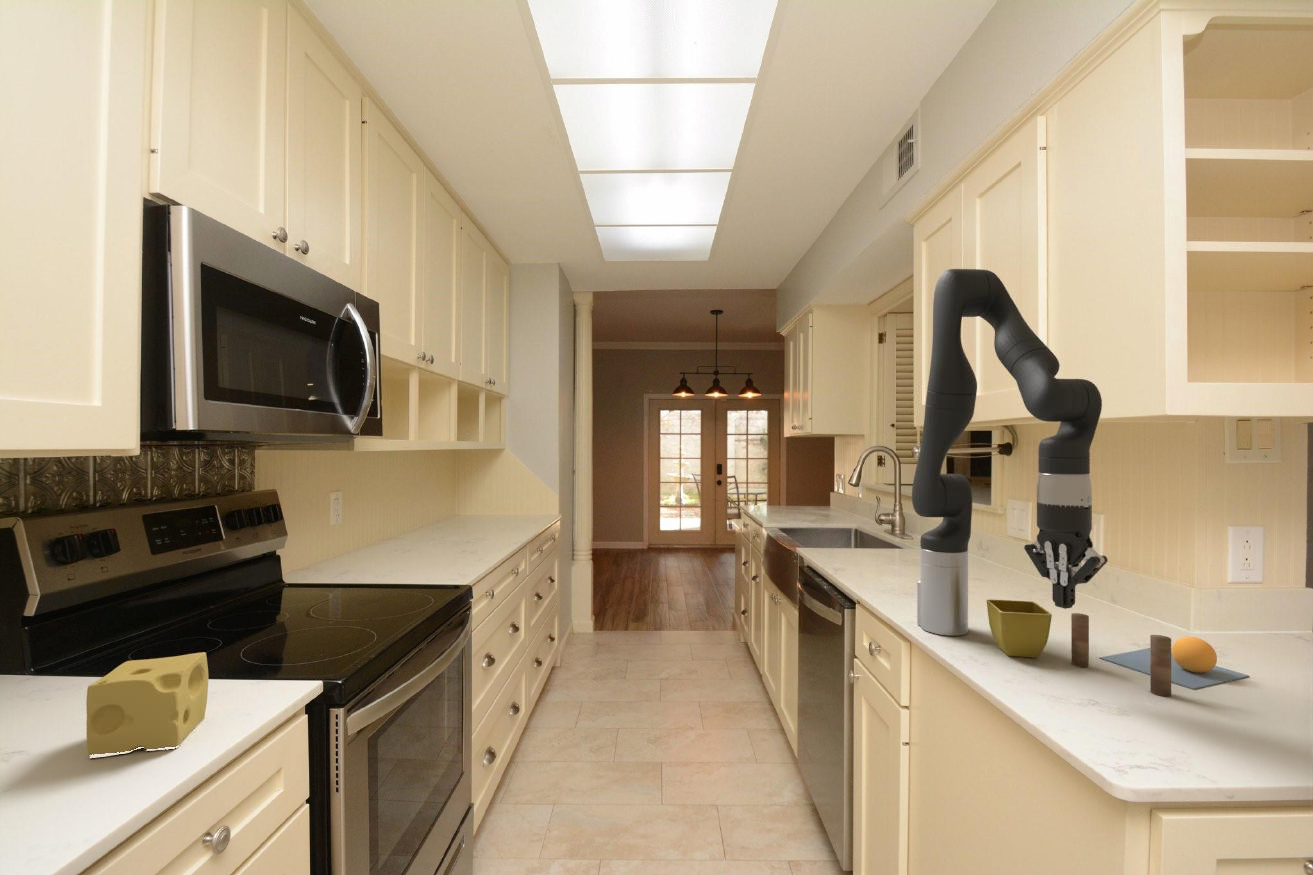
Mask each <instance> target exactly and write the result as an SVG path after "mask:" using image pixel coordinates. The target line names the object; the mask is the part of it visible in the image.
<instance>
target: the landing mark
mask: <svg viewBox="0 0 1313 875" xmlns="http://www.w3.org/2000/svg"><path fill="white" fill-rule="evenodd" d="M1099 659H1100V660H1103V661H1105V662H1109V663H1112V664H1115V665H1118V666H1121V667H1124V668H1127V669H1131V670H1133V671H1136V672H1138V673H1142V674H1145V675H1149V676H1150V647H1149V648H1143V649H1138V650H1137V649H1136V650H1133V651H1132V650H1131V651H1127V652H1121V653H1117V654H1111V655H1106V656H1105V655H1104V656H1101V657H1099ZM1249 677H1250V675H1248V674H1245V673H1243V672H1238V671H1234V670H1231V669H1228V668H1224V667H1222V666H1218V665H1215V666H1214V668H1213V669H1211V670H1210V671H1208V672H1204V673H1194V672H1190V671H1187V670H1185V669H1183V668H1182V667H1180V666H1179V665H1178V664H1177V663H1176V662H1175V660H1174V658H1173V656H1172V652H1171V684H1175V685H1178V686H1181V687H1184V688H1187V689H1191V690H1193V691H1194V690H1197V689H1203V688H1206V687H1210V686H1215V685H1219V684H1220V685H1221V684H1223V683H1224V684H1225V683H1227V682H1231V681H1237V680H1241V679H1244V678H1245V679H1246V678H1249Z"/></svg>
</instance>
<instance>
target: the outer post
mask: <svg viewBox="0 0 1313 875" xmlns="http://www.w3.org/2000/svg"><path fill="white" fill-rule="evenodd" d="M1149 638H1150V639H1149V642H1150V644H1149V645H1150V646H1149V648H1150V675H1149V676H1150V693H1151V694H1154V695H1156V696H1160V697H1165V698H1168V697H1171V696H1172V682H1171V653H1172V637H1168V636H1166V635H1160V634H1151V635H1150V636H1149Z"/></svg>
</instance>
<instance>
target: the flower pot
mask: <svg viewBox="0 0 1313 875" xmlns="http://www.w3.org/2000/svg"><path fill="white" fill-rule="evenodd" d="M986 606H987V617H988V625H989V628H990V632H991V634H992V637H993V638H994V640H995V642H996V644H997V647H999V649H1000V650H1002V651H1003V652H1004V654H1005V655H1007V656H1008V657H1020V658H1031V659H1032V658H1037V657H1038V656H1039V655H1041V653H1042V652H1043V651H1044V650H1045V648H1046V645H1047V643H1048V642H1049V641H1048V640H1049V637H1050V629H1051V624H1052V617H1053V614H1052V613H1051V612H1049V611H1048V610H1047V609H1045V608H1044V607H1043V606H1041V605H1040V604H1038V603H1036V602H1035V601H1029V600H1009V599H1006V600H1005V599H986Z"/></svg>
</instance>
